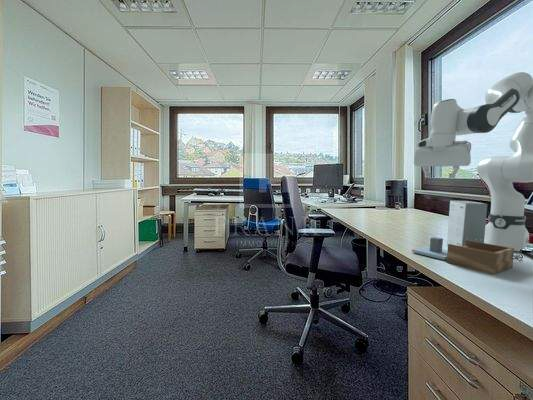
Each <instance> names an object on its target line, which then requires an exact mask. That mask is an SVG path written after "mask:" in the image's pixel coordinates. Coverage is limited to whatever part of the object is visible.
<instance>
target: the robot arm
mask: <svg viewBox="0 0 533 400" xmlns="http://www.w3.org/2000/svg"><path fill="white" fill-rule="evenodd" d="M484 100H485V104H482V105H479V106H475V107H469V108H462V107H461V106H459V104H458V102H457V99H456V98H455V99H454V98H449V99H444V100H439V101H437V102H435V103H434V105H433V106H432V109H431V113H430V114H431V115H430V127H431V128H430V132H429V137H428V138H424V139H423V140H420V141H418V142H417V143H416V148H417V149H416V150H415V152H414V157H413V164H414V166H415V167H421V168H422V171H423V173H424V178H431V175H432V173H429V171H428V170H429V167H452V172H450V173H449V174H448V175H449V176H448V178H449V179H456V175H457V173H458V172H459V171H460V167H467V166H470V164H471V161H472V159H471V158H472V157H471V156H472V155H471V150H472V143H471V142H469V141H468V140H458V141H457V140H456V136H465V135H472V134H487V133H490V132H491V131H493V130H494V129H495V128H496V127H497V125H498V123H499V122H500V121H501V120H502V119H503V117H505V115H507V114H508V113H510V114H518V113H519V114H520V113H522V112H525V113H524V117H523V118H522V119H521V121H520V122H519V124H518V125H517V127H516V129H515V131H514V132H513V134H512V136H511V137H510V139H509V142H508V143H509V148H510V149H511V150H512V151H513V152H514V154H512V155H502V156H501V155H500V156H499V155H497V156H492V157H487V158H483V159H482V160H480V162H479V163H478V164H477V169H476V171H477V176H479V178H480V179H481V180H483V181H484V182H485V183H486V186H488V189H489V193H490V200H491V201H490V203H491V204H490V213H489V214H488V223H486V225H485V236H484V243H486V244H492V245H498V246H503V247H509V248H514V252H521V251H520V249H525V247H527V246H533V244H532V243H530V233H529V231H528V229H527V227H526V220H527V216H526V215H525V208H526V207H525V205H526V198H525V196H524V194H523V193H521V192H519V191H517V190H516V188H514V184H513V183H533V77H532V75H531V74H529V73H527V72H526V71H525V72H523V71H518V72H515V73H513V74H510V75H507V76H505V77H503V78H501V79H500V80H499V81H496V83H494V84H493V85H491V86H490V87H489V88H488V89H487V90H486V92H485V94H484Z"/></svg>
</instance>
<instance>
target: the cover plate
mask: <svg viewBox="0 0 533 400" xmlns="http://www.w3.org/2000/svg"><path fill="white" fill-rule="evenodd" d="M443 242H444V238H440V237H435V236H434V237H430V244H429V246H428V245H426V246H422V247H417V248H413V249H411V253H415V254H417V253H418V255H421V254H422V256H425V255H427V256H426V257H429V256H431V257H430V258H433V257H435V258H434V259H437V258H439V259H438V260H442V259H443V260H442V261H444V260H445V261H447V251H448V249H443Z"/></svg>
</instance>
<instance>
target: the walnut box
mask: <svg viewBox="0 0 533 400" xmlns="http://www.w3.org/2000/svg"><path fill="white" fill-rule="evenodd" d="M447 250H448V251H447V259H446V264H451V265H455V266H459V267H463V268H467V269H470V270H474V271H478V272H482V273H487V274H491V275H497V274H499V273H502V272H505V271H508V270H509V269H513V266H514V265H513V264H514V255H515V251H514V248H509V247H503V246H498V245H492V244H486V243H481V242H475V241H470V240H466V246H458V245H453V244H448V246H447Z"/></svg>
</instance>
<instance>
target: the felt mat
mask: <svg viewBox="0 0 533 400" xmlns="http://www.w3.org/2000/svg"><path fill="white" fill-rule="evenodd" d="M416 254H418V253H416ZM418 255H419V254H418ZM420 255H422V254H420ZM422 256H423V255H422ZM424 256H425V257H429V258H433V259H437V260H440V259H439V258H435V257H431V256H427V255H424ZM441 260H442V261H444V260H443V259H441Z"/></svg>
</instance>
